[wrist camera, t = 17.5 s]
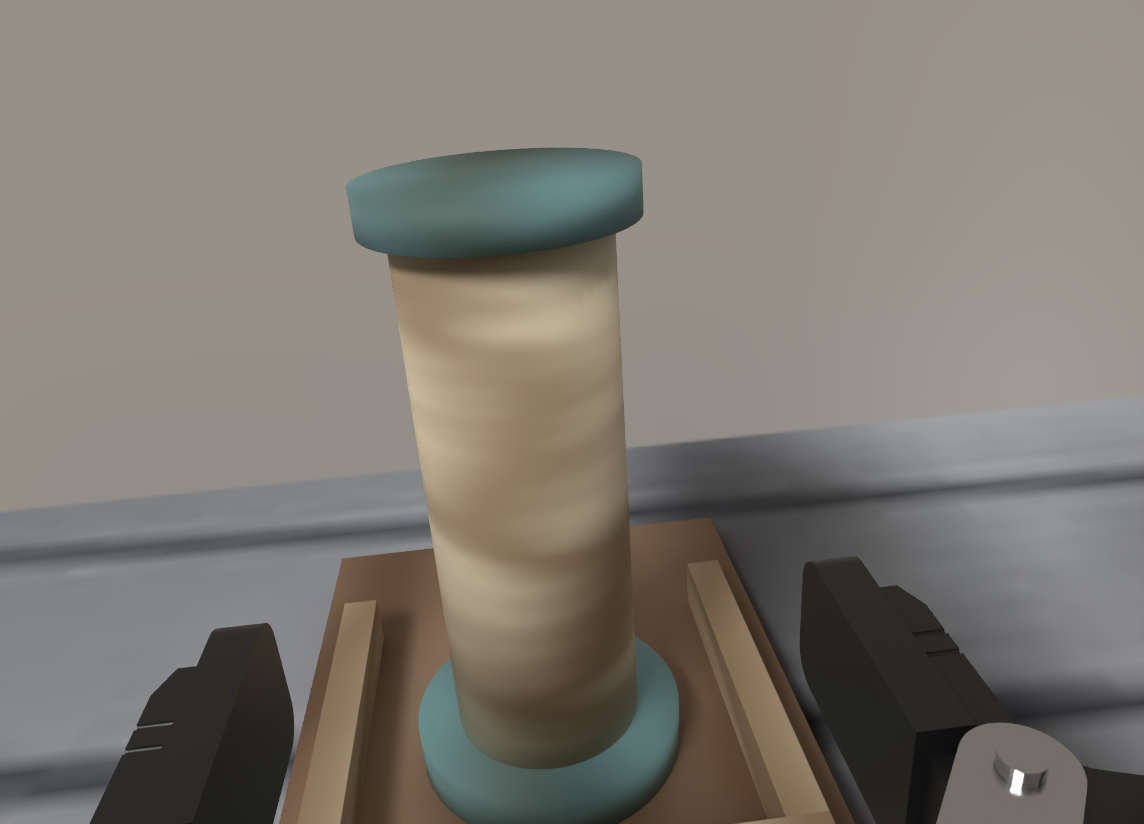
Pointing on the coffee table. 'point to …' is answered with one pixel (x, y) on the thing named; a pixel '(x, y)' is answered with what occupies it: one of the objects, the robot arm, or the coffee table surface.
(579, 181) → the bobbin
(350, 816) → the brown wooden tray
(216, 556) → the coffee table surface
